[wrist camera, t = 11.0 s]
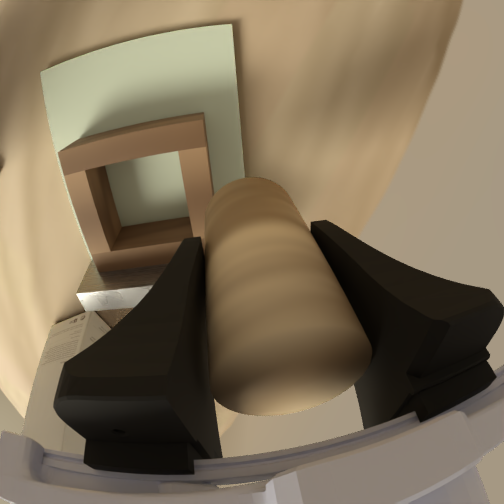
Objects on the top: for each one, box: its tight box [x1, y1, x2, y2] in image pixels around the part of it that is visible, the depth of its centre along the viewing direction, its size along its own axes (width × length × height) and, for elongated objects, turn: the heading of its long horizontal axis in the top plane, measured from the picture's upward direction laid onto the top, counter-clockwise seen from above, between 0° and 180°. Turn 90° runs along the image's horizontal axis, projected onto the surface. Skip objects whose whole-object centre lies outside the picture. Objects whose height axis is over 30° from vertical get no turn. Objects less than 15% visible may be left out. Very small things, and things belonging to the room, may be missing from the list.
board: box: [40, 24, 245, 260], centre depth 17 cm, size 15×12×1 cm
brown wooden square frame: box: [58, 112, 214, 273], centre depth 16 cm, size 8×8×3 cm
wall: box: [77, 259, 168, 312], centre depth 18 cm, size 2×10×5 cm, turn 94°
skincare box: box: [22, 311, 111, 455], centre depth 20 cm, size 8×7×16 cm
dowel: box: [205, 177, 372, 416], centre depth 10 cm, size 4×4×8 cm
